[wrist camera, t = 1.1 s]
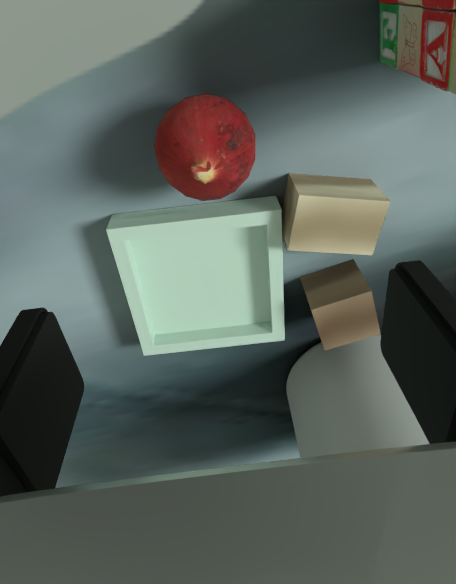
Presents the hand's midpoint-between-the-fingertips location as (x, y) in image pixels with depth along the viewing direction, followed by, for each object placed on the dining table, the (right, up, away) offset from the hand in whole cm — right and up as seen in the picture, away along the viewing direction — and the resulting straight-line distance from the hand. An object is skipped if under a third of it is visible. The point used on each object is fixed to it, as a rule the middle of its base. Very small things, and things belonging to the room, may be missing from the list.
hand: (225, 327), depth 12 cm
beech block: (+7, +8, +19) cm, 22 cm away
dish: (-2, +2, +22) cm, 22 cm away
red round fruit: (-1, +12, +16) cm, 20 cm away
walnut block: (+9, +1, +24) cm, 25 cm away
